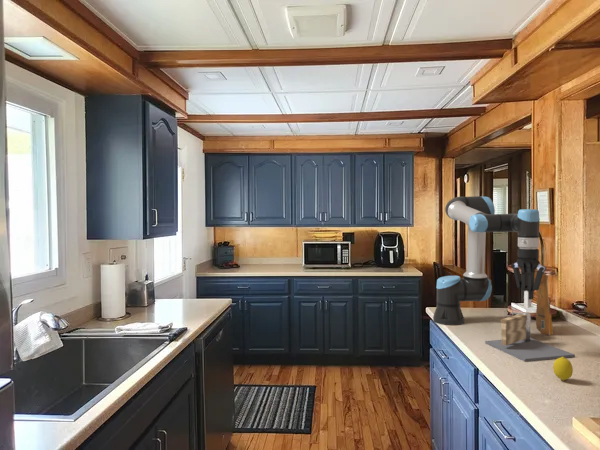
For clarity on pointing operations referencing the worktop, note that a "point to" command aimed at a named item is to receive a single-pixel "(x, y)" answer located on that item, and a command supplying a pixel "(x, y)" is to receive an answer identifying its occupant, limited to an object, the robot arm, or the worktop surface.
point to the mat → (530, 350)
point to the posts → (527, 327)
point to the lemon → (563, 368)
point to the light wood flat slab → (513, 329)
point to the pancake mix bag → (543, 307)
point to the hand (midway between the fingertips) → (527, 306)
